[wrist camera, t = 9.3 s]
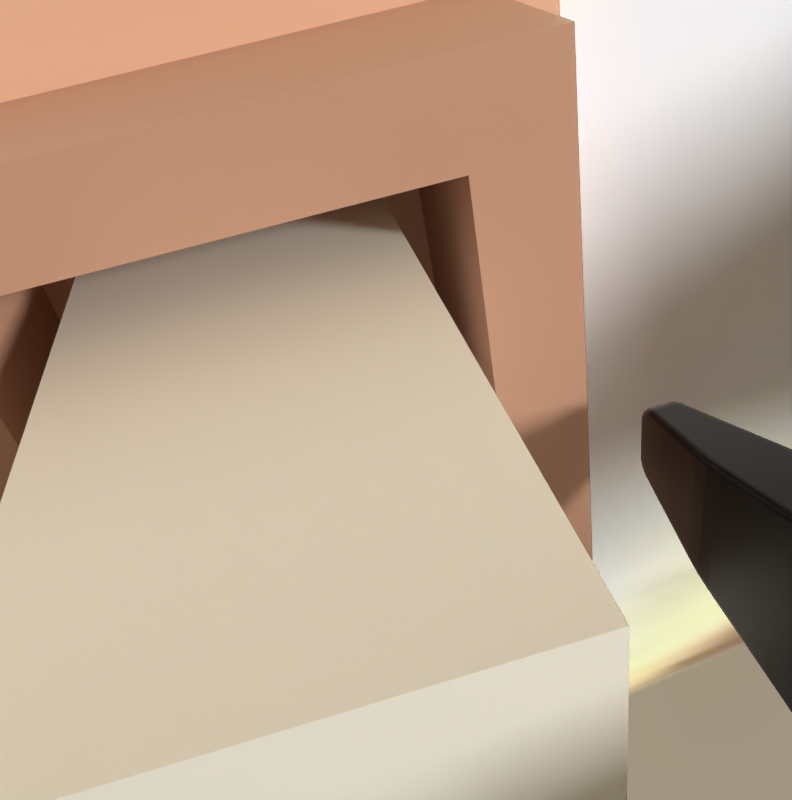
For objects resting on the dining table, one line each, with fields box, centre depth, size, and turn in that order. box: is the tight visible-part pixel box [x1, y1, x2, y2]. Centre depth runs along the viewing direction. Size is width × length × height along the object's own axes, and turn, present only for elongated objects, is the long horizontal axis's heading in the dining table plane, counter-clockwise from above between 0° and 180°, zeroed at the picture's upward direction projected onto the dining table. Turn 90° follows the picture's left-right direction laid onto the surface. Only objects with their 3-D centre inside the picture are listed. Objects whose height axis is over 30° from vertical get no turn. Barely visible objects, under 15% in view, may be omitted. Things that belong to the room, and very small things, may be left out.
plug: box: [0, 198, 630, 800], centre depth 9 cm, size 4×6×8 cm, turn 10°
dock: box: [0, 0, 592, 560], centre depth 11 cm, size 10×12×4 cm
